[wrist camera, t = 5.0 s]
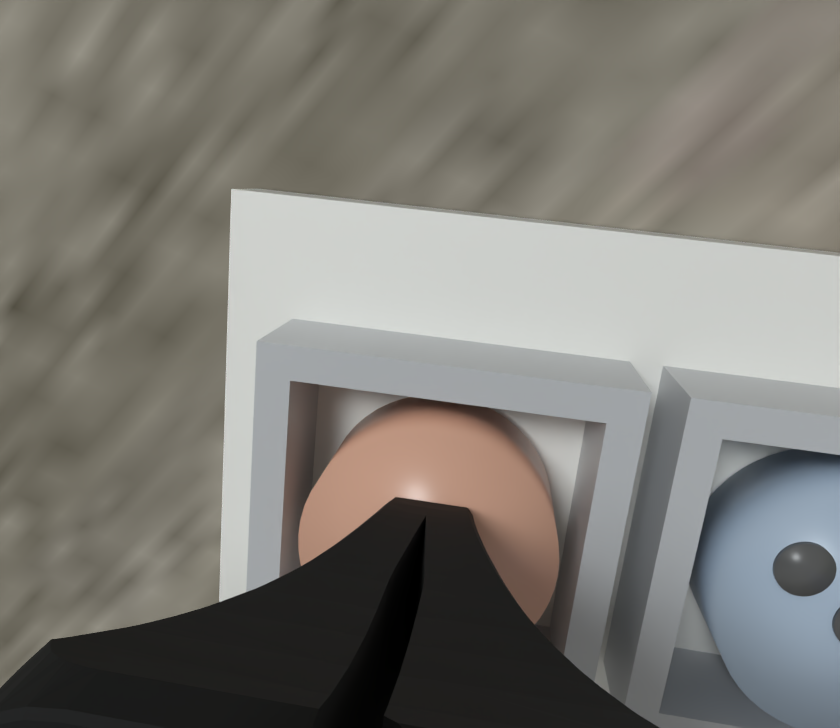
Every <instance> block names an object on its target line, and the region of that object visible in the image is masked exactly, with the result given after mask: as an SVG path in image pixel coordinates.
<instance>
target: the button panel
mask: <svg viewBox="0 0 840 728" xmlns="http://www.w3.org/2000/svg"><path fill="white" fill-rule="evenodd" d="M408 397H415V398H422V399H430V400H437V401H444V402H452V403H459V404H466V405H474V406H481V407H488V408H490V409H492V410H494V411H496V412H497V413H499V414H501V415H502V416H504V417H505V418H507V419H508V420H509V421H510V422H512V423H513V424H514V425H515V426H516V427H517V428H519V430H520V431H521V432H522V433H523V434H524V435H525V436H526V437H527V438H528V439H529V441H530V442H531V444H532V445H533V447H534V448H535V449H536V451H537V453H538V455H539V457H540V458H541V460H542V462H543V464H544V467H545V470H546V473H547V476H548V479H549V484H550V490H551V496H552V502H553V509H554V516H555V523H556V529H557V536H558V543H559V569H558V577H557V581H556V585H555V589H554V592H553V594H552V597H551V599H550V602H549V604H548V606H547V608H546V609H545V611H544V612H543V614H542V616H541V617H540V619H539V620H538V621H537V622H536V624H535V626H536V627H537V628H538V629H539V630H540V632H541V633H542V634H543V635H544V636H545V637H546V638H547V639H548V640H549V641H550V642H551V643H552V644H553V645H554V646H555V647H556V648H557V649H558V650H559V651H560V652H561V653H562V654H563V655H564V656H565V657H566V658H568V659H569V660H570V661H571V662H572V663H573V664H574V665H575V666H576V667H577V668H578V669H579V670H581V671H582V672H583V673H584V674H585V675H587V676H588V677H589V678H590V679H591V680H593V681H594V682H595V683H596V684H598V685H599V686H600V687H601V688H603V689H604V690H605V691H607V692H608V693H609V694H611V695H612V696H613V697H615V698H616V699H617V700H619V701H620V702H621V703H623V704H624V705H626V706H627V707H628V708H630V709H631V710H632V711H634V712H635V713H637V714H638V715H640V716H641V717H643V718H645V719H646V720H648V721H650V722H651V723H653V724H654V725H656V726H658V727H659V728H795V727H792V726H790V725H788V724H786V723H784V722H781V721H779V720H777V719H776V718H774V717H772V716H771V715H769V714H768V713H766V712H765V711H763V710H762V709H761V708H759V707H758V706H757V705H756V704H755V703H753V702H752V701H751V700H750V699H749V698H748V697H747V696H746V695H745V694H744V693H743V691H742V690H741V689H740V688H739V687H738V685H737V684H736V682H735V681H734V679H733V678H732V677H731V675H730V673H729V671H728V669H727V667H726V665H725V663H724V661H723V659H722V656H721V654H720V652H719V650H718V648H717V645H716V643H715V641H714V639H713V637H712V635H711V632H710V630H709V628H708V626H707V624H706V621H705V619H704V617H703V615H702V613H701V611H700V608H699V606H698V604H697V602H696V600H695V598H694V595H693V593H692V590H691V587H690V584H689V581H690V577H691V573H692V568H693V564H694V560H695V555H696V551H697V547H698V543H699V538H700V534H701V530H702V525H703V521H704V517H705V512H706V508H707V504H708V499H709V497H710V496H711V495H712V494H713V492H714V491H715V490H716V489H717V488H718V487H719V486H720V485H721V484H722V483H724V482H725V481H726V480H727V479H728V478H729V477H731V476H732V475H734V474H735V473H736V472H738V471H739V470H741V469H742V468H744V467H746V466H748V465H750V464H751V463H753V462H755V461H757V460H760V459H762V458H765V457H767V456H770V455H772V454H776V453H779V452H783V451H787V450H792V449H799V450H806V451H814V452H821V453H829V454H836V455H840V253H839V252H830V251H821V250H811V249H802V248H793V247H784V246H775V245H766V244H757V243H748V242H739V241H730V240H721V239H711V238H702V237H693V236H684V235H675V234H666V233H657V232H648V231H639V230H630V229H621V228H611V227H602V226H593V225H584V224H575V223H566V222H557V221H548V220H539V219H530V218H521V217H511V216H502V215H493V214H484V213H475V212H466V211H457V210H448V209H439V208H430V207H421V206H411V205H402V204H393V203H384V202H375V201H366V200H357V199H348V198H339V197H330V196H321V195H311V194H302V193H293V192H284V191H275V190H266V189H231V221H230V254H229V288H228V321H227V355H226V389H225V422H224V456H223V489H222V523H221V556H220V590H219V602H221V601H224V600H227V599H229V598H232V597H234V596H237V595H240V594H242V593H245V592H248V591H250V590H253V589H256V588H258V587H260V586H263V585H265V584H267V583H269V582H271V581H273V580H275V579H277V578H279V577H281V576H283V575H285V574H287V573H289V572H291V571H293V570H295V569H297V568H299V567H301V564H300V557H299V551H298V534H299V526H300V519H301V516H302V512H303V509H304V505H305V503H306V501H307V499H308V497H309V494H310V492H311V490H312V489H313V487H314V486H315V484H316V483H317V481H318V479H319V478H320V476H321V475H322V473H323V472H324V470H325V469H326V467H327V465H328V464H329V462H330V461H331V459H332V458H333V456H334V454H335V453H336V451H337V450H338V448H339V447H340V445H341V444H342V442H343V440H344V439H345V437H346V436H347V435H348V434H349V432H350V431H351V430H352V429H353V428H354V427H355V426H356V425H357V424H358V423H359V422H360V421H361V420H362V419H364V418H365V417H366V416H367V415H369V414H371V413H372V412H374V411H375V410H377V409H378V408H380V407H383V406H385V405H387V404H389V403H391V402H394V401H397V400H400V399H403V398H408Z"/></svg>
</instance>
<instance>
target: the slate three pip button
mask: <svg viewBox="0 0 840 728" xmlns="http://www.w3.org/2000/svg"><path fill="white" fill-rule="evenodd" d="M689 584H690V587H691V590H692V593H693V595H694V598H695V600H696V602H697V604H698V606H699V608H700V611H701V613H702V615H703V617H704V619H705V621H706V624H707V626H708V628H709V630H710V632H711V635H712V637H713V639H714V641H715V643H716V645H717V648H718V650H719V652H720V654H721V656H722V659H723V661H724V663H725V665H726V667H727V669H728V671H729V673H730V675H731V677H732V678H733V679H734V681H735V682H736V684H737V685H738V687H739V688H740V689H741V690H742V691H743V693H744V694H745V695H746V696H747V697H748V698H749V699H750V700H751V701H752V702H753V703H755V704H756V705H757V706H758V707H759V708H761V709H762V710H763V711H765V712H766V713H768V714H769V715H771V716H772V717H774V718H776V719H777V720H779V721H781V722H784V723H786V724H788V725H790V726H792V727H795V728H840V455H836V454H829V453H821V452H814V451H806V450H799V449H792V450H787V451H783V452H779V453H776V454H772V455H770V456H767V457H765V458H762V459H760V460H757V461H755V462H753V463H751V464H750V465H748V466H746V467H744V468H742V469H741V470H739V471H738V472H736V473H735V474H734V475H732V476H731V477H729V478H728V479H727V480H726V481H725V482H724V483H722V484H721V485H720V486H719V487H718V488H717V489H716V490H715V491H714V492H713V494H712V495H711V496H710V497H709V499H708V504H707V508H706V512H705V517H704V521H703V525H702V530H701V534H700V538H699V543H698V547H697V551H696V555H695V560H694V564H693V568H692V573H691V577H690V581H689Z"/></svg>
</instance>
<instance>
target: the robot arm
mask: <svg viewBox="0 0 840 728" xmlns="http://www.w3.org/2000/svg"><path fill="white" fill-rule="evenodd" d="M0 728H659V727H658V726H656V725H654V724H653V723H651V722H650V721H648V720H646V719H645V718H643V717H641V716H640V715H638V714H637V713H635V712H634V711H632V710H631V709H630V708H628V707H627V706H626V705H624V704H623V703H621V702H620V701H619V700H617V699H616V698H615V697H613V696H612V695H611V694H609V693H608V692H607V691H605V690H604V689H603V688H601V687H600V686H599V685H598V684H596V683H595V682H594V681H593V680H591V679H590V678H589V677H588V676H587V675H585V674H584V673H583V672H582V671H581V670H579V669H578V668H577V667H576V666H575V665H574V664H573V663H572V662H571V661H570V660H569V659H568V658H566V657H565V656H564V655H563V654H562V653H561V652H560V651H559V650H558V649H557V648H556V647H555V646H554V645H553V644H552V643H551V642H550V641H549V640H548V639H547V638H546V637H545V636H544V635H543V634H542V633H541V632H540V630H539V629H538V628H537V627H536V626H535V625H534V623H533V622H532V621H531V620H530V619H529V618H528V616H527V615H526V614H525V613H524V611H523V610H522V608H521V607H520V606H519V604H518V603H517V601H516V600H515V598H514V597H513V595H512V594H511V593H510V591H509V590H508V588H507V587H506V585H505V583H504V582H503V580H502V578H501V577H500V575H499V573H498V571H497V570H496V568H495V566H494V564H493V562H492V560H491V559H490V557H489V555H488V553H487V551H486V549H485V547H484V545H483V542H482V540H481V538H480V536H479V533H478V531H477V528H476V525H475V522H474V518H473V514H472V513H471V512H470V510H469V509H468V508H467V507H460V506H453V505H446V504H440V503H433V502H426V501H420V500H413V499H406V498H399V497H395V498H393V499H392V500H391V501H389V502H388V503H387V504H385V505H384V506H383V507H382V508H381V509H379V510H378V511H377V512H376V513H375V514H374V515H372V516H371V517H370V518H369V519H368V520H366V521H365V522H364V523H363V524H361V525H360V526H359V527H358V528H356V529H355V530H354V531H352V532H351V533H350V534H348V535H347V536H346V537H345V538H343V539H342V540H341V541H339V542H338V543H336V544H335V545H334V546H332V547H331V548H329V549H328V550H326V551H325V552H323V553H321V554H320V555H318V556H317V557H315V558H314V559H312V560H311V561H309V562H307V563H306V564H304V565H302V566H301V567H299V568H297V569H295V570H293V571H291V572H289V573H287V574H285V575H283V576H281V577H279V578H277V579H275V580H273V581H271V582H269V583H267V584H265V585H263V586H260V587H258V588H256V589H253V590H250V591H248V592H245V593H242V594H240V595H237V596H234V597H232V598H229V599H227V600H224V601H221V602H219V603H216V604H213V605H211V606H208V607H205V608H201V609H198V610H195V611H191V612H188V613H184V614H181V615H177V616H174V617H170V618H166V619H162V620H158V621H154V622H150V623H145V624H141V625H136V626H132V627H127V628H121V629H115V630H109V631H103V632H97V633H91V634H85V635H79V636H73V637H67V638H59V639H52V640H50V641H49V642H48V643H47V644H46V645H45V646H44V647H43V648H41V649H40V650H39V651H38V652H37V653H36V654H35V655H34V656H33V657H32V658H31V659H29V660H28V661H27V662H26V663H25V664H24V665H23V666H22V667H21V668H20V669H19V670H18V671H17V672H16V673H15V674H14V675H13V676H12V677H11V678H10V679H9V680H8V681H7V682H6V683H5V684H4V685H3V686H2V687H1V688H0Z"/></svg>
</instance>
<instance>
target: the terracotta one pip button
mask: <svg viewBox="0 0 840 728" xmlns="http://www.w3.org/2000/svg"><path fill="white" fill-rule="evenodd" d="M395 497H399V498H406V499H413V500H420V501H426V502H433V503H440V504H446V505H453V506H460V507H467V508H468V509H469V510H470V512H471V513H472V514H473V518H474V522H475V525H476V528H477V531H478V533H479V536H480V538H481V540H482V542H483V545H484V547H485V549H486V551H487V553H488V555H489V557H490V559H491V560H492V562H493V564H494V566H495V568H496V570H497V571H498V573H499V575H500V577H501V578H502V580H503V582H504V583H505V585H506V587H507V588H508V590H509V591H510V593H511V594H512V595H513V597H514V598H515V600H516V601H517V603H518V604H519V606H520V607H521V608H522V610H523V611H524V613H525V614H526V615H527V616H528V618H529V619H530V620H531V621H532V622H533V623H534V625H535V624H536V622H537V621H538V620H539V619H540V617H541V616H542V614H543V612H544V611H545V609H546V608H547V606H548V604H549V602H550V599H551V597H552V594H553V592H554V589H555V585H556V581H557V577H558V569H559V543H558V536H557V529H556V523H555V516H554V509H553V502H552V496H551V490H550V484H549V479H548V476H547V473H546V470H545V467H544V464H543V462H542V460H541V458H540V457H539V455H538V453H537V451H536V449H535V448H534V447H533V445H532V444H531V442H530V441H529V439H528V438H527V437H526V436H525V435H524V434H523V433H522V432H521V431H520V430H519V428H517V427H516V426H515V425H514V424H513V423H512V422H510V421H509V420H508V419H507V418H505V417H504V416H502V415H501V414H499V413H497V412H496V411H494V410H492V409H490V408H488V407H481V406H474V405H466V404H459V403H452V402H444V401H437V400H430V399H422V398H415V397H408V398H403V399H400V400H397V401H394V402H391V403H389V404H387V405H385V406H383V407H380V408H378V409H377V410H375V411H374V412H372V413H371V414H369V415H367V416H366V417H365V418H364V419H362V420H361V421H360V422H359V423H358V424H357V425H356V426H355V427H354V428H353V429H352V430H351V431H350V432H349V434H348V435H347V436H346V437H345V439H344V440H343V442H342V444H341V445H340V447H339V448H338V450H337V451H336V453H335V454H334V456H333V458H332V459H331V461H330V462H329V464H328V465H327V467H326V469H325V470H324V472H323V473H322V475H321V476H320V478H319V479H318V481H317V483H316V484H315V486H314V487H313V489H312V490H311V492H310V494H309V497H308V499H307V501H306V503H305V505H304V509H303V512H302V516H301V519H300V526H299V534H298V551H299V557H300V564H301V566H302V565H304V564H306V563H307V562H309V561H311V560H312V559H314V558H315V557H317V556H318V555H320V554H321V553H323V552H325V551H326V550H328V549H329V548H331V547H332V546H334V545H335V544H336V543H338V542H339V541H341V540H342V539H343V538H345V537H346V536H347V535H348V534H350V533H351V532H352V531H354V530H355V529H356V528H358V527H359V526H360V525H361V524H363V523H364V522H365V521H366V520H368V519H369V518H370V517H371V516H372V515H374V514H375V513H376V512H377V511H378V510H379V509H381V508H382V507H383V506H384V505H385V504H387V503H388V502H389V501H391V500H392V499H393V498H395Z"/></svg>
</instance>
